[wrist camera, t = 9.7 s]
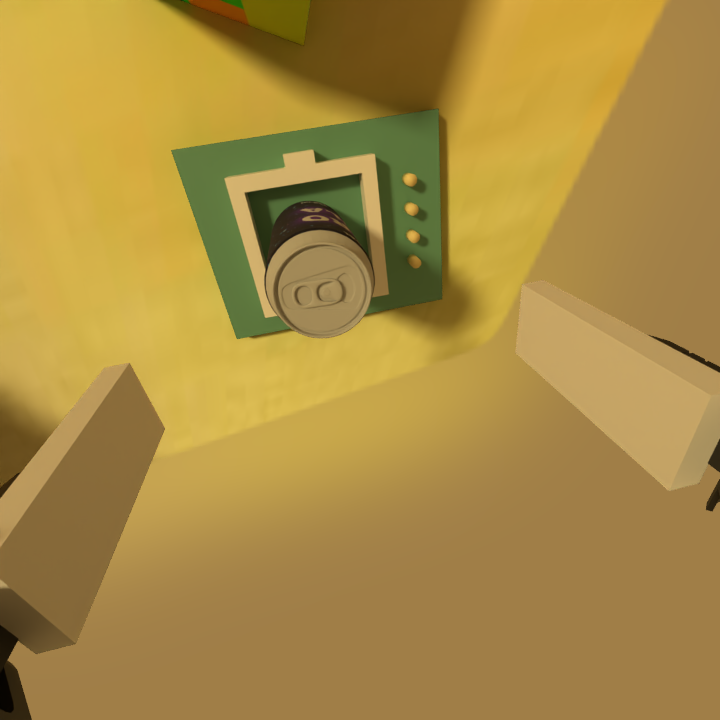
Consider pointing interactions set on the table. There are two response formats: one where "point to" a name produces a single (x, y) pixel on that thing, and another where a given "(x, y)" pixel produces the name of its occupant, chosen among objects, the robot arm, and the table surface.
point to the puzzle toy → (264, 15)
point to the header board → (328, 186)
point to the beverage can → (317, 272)
